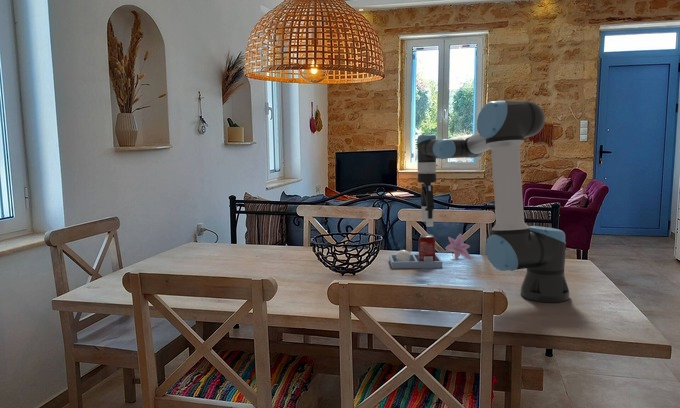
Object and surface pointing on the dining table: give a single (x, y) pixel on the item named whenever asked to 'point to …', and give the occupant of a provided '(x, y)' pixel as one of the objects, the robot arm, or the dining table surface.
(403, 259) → the cream white ball
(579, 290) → the dining table surface
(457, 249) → the lily
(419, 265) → the holder
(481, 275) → the dining table surface
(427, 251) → the soda can
